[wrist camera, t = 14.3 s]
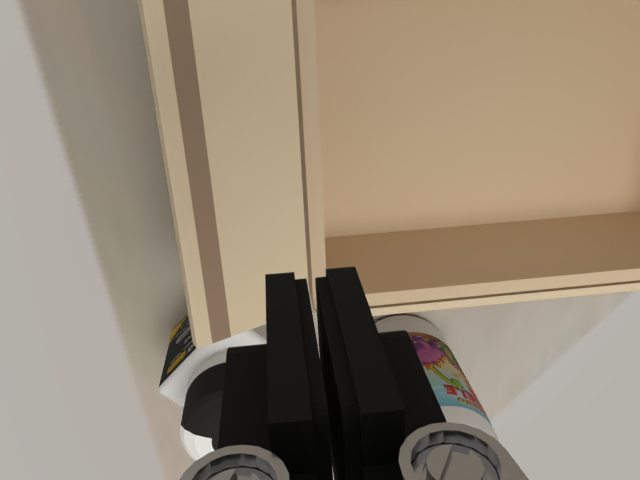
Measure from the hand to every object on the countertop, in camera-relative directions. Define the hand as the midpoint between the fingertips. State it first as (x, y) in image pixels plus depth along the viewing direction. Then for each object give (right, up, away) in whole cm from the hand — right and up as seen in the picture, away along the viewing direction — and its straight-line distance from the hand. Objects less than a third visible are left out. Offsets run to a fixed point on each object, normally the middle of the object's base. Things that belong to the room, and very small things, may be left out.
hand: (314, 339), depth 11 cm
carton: (+11, +11, +27) cm, 31 cm away
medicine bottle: (-6, -4, +32) cm, 32 cm away
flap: (-1, +6, +17) cm, 18 cm away
